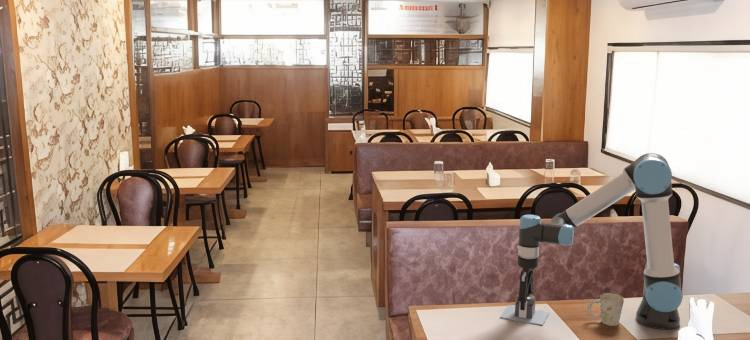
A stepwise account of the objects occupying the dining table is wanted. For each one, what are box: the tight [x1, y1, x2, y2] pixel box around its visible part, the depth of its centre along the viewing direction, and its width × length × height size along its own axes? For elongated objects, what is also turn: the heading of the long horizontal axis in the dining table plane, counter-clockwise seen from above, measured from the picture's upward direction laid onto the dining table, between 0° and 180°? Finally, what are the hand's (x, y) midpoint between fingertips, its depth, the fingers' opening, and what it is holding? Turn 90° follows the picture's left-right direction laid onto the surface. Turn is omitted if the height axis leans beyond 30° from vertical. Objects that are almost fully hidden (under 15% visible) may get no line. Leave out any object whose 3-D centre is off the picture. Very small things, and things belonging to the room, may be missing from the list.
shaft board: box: [499, 304, 550, 326], centre depth 251 cm, size 16×13×5 cm
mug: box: [586, 292, 625, 327], centre depth 245 cm, size 8×13×10 cm, turn 78°
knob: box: [514, 293, 536, 319], centre depth 251 cm, size 7×7×8 cm
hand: (524, 313), depth 251 cm, fingers closed on knob, 7 cm apart
